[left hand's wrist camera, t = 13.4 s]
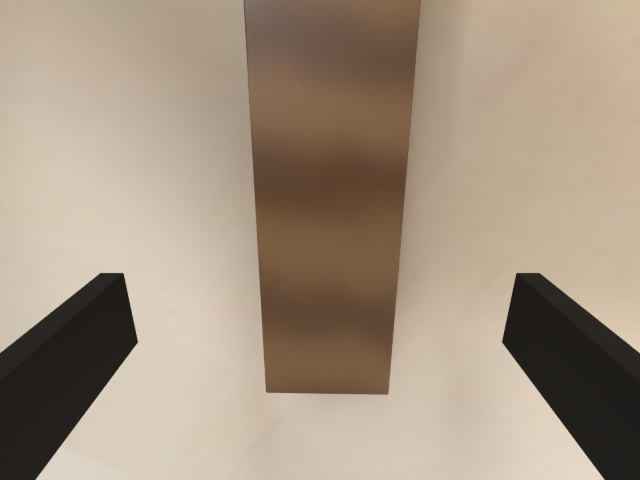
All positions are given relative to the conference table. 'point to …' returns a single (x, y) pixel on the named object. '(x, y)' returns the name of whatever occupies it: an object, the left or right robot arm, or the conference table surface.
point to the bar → (329, 184)
